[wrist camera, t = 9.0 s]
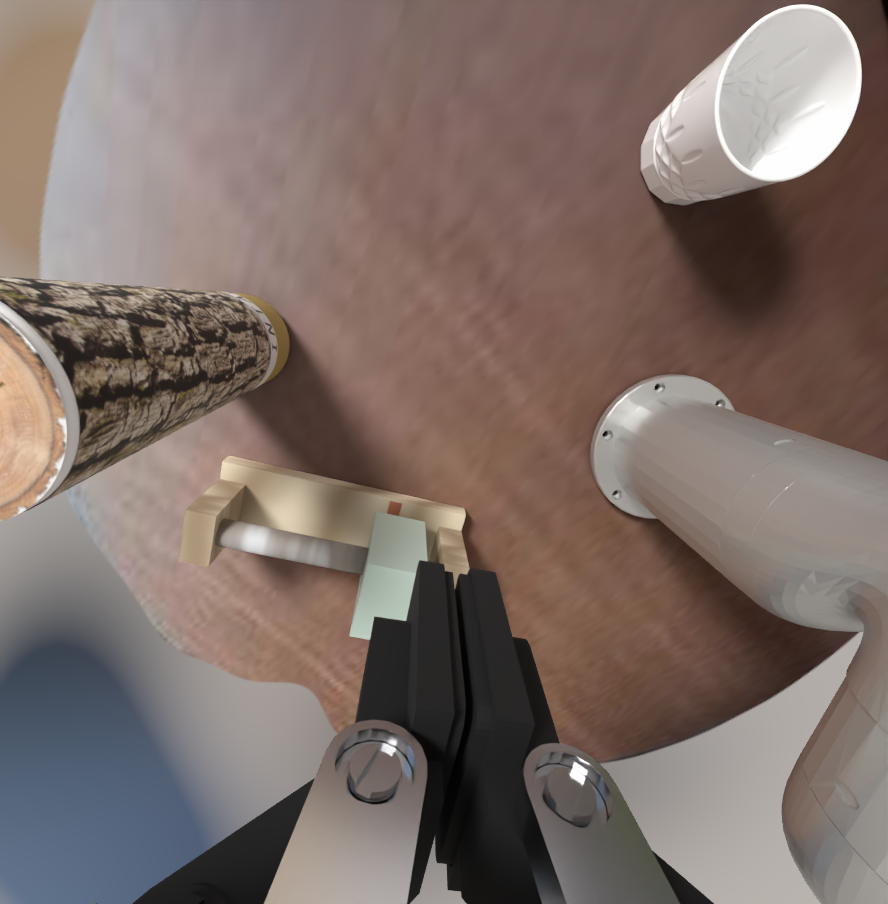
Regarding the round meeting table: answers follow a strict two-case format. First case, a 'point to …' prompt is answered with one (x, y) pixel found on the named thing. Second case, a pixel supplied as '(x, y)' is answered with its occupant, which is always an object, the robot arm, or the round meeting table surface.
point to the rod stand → (308, 519)
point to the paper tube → (116, 373)
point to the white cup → (757, 110)
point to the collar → (388, 571)
